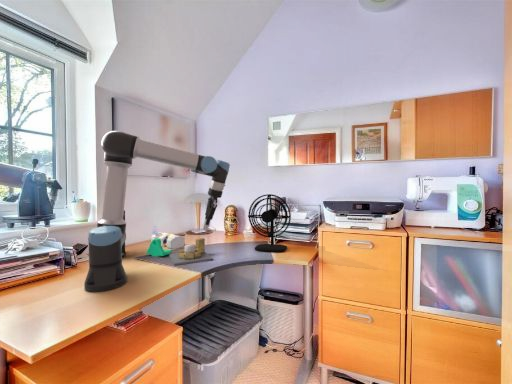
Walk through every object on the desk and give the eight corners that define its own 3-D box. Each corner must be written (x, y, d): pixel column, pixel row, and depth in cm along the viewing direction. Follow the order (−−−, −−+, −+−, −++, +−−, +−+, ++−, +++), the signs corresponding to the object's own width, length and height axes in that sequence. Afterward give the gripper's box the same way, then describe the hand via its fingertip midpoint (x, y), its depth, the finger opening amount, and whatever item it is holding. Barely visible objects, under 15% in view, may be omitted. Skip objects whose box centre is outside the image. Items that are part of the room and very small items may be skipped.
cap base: (212, 260, 138) (212, 247, 138) (174, 265, 130) (174, 251, 129) (203, 251, 156) (202, 240, 156) (169, 256, 148) (168, 244, 147)
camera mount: (172, 254, 152) (171, 237, 151) (162, 257, 145) (162, 239, 144) (156, 252, 156) (156, 236, 156) (146, 255, 149) (146, 238, 149)
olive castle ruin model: (189, 259, 135) (189, 244, 134) (174, 256, 141) (174, 242, 141) (210, 252, 149) (210, 239, 148) (196, 250, 155) (195, 237, 155)
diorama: (151, 244, 179) (150, 226, 179) (164, 242, 187) (164, 224, 187) (170, 250, 163) (170, 229, 163) (184, 247, 171) (184, 227, 171)
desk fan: (245, 251, 156) (244, 194, 155) (254, 245, 173) (253, 193, 172) (289, 254, 148) (288, 194, 147) (293, 247, 165) (293, 193, 164)
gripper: (225, 193, 133) (213, 235, 136) (220, 187, 145) (209, 226, 148) (212, 190, 130) (200, 233, 133) (207, 185, 142) (196, 224, 145)
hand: (205, 229), depth 140 cm, fingers closed
